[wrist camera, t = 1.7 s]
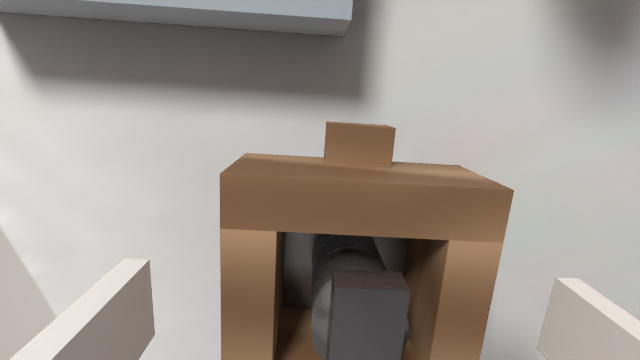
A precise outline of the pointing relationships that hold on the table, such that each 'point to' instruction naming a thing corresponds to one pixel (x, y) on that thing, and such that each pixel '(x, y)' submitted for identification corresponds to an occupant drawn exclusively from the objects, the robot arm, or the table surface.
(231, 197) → the walnut ring
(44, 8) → the slate tray
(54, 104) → the table surface
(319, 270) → the metal stake
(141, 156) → the table surface
